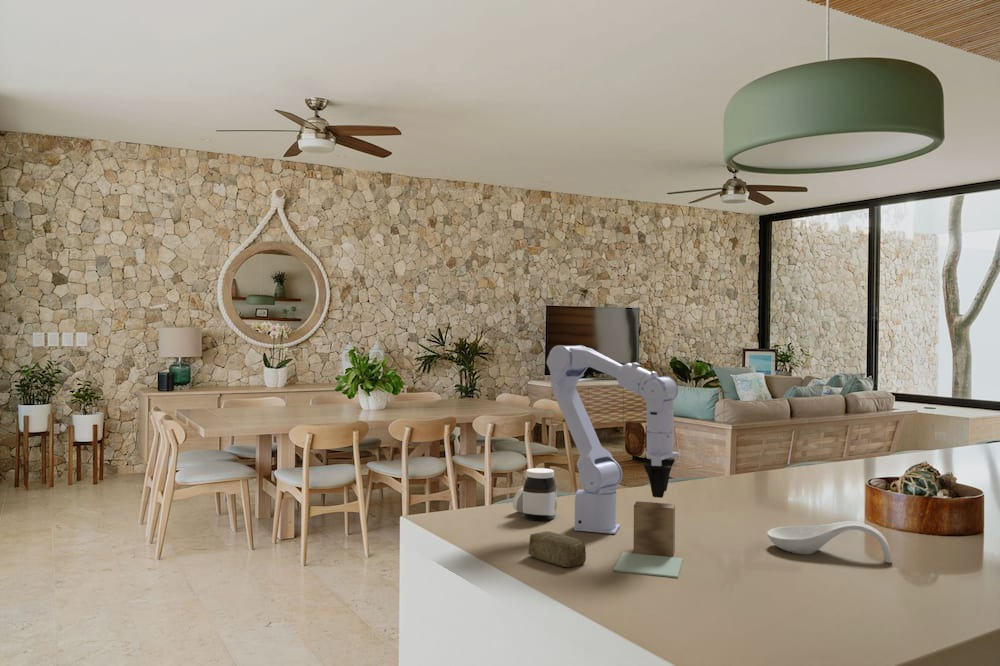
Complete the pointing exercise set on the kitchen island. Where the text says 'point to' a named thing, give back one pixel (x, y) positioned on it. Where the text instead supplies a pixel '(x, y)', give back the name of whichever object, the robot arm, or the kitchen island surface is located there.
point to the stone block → (557, 549)
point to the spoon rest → (820, 536)
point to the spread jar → (537, 495)
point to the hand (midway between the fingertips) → (659, 493)
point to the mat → (649, 565)
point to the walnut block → (654, 529)
